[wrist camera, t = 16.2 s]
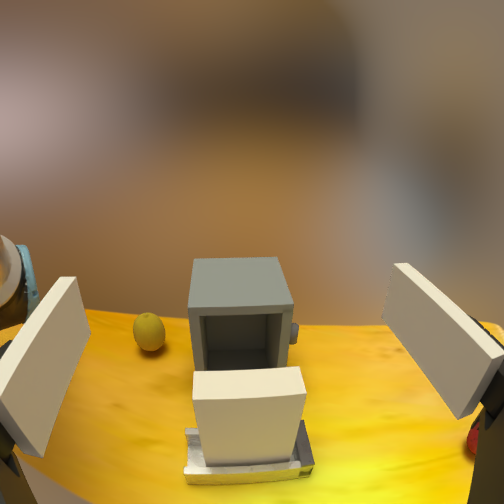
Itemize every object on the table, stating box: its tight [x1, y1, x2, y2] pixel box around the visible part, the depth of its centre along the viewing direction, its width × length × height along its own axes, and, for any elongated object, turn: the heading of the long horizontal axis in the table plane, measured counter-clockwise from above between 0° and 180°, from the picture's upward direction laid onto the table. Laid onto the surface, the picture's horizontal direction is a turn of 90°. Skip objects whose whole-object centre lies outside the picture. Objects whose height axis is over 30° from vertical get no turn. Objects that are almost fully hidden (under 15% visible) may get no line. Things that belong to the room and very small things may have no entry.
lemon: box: [133, 313, 165, 351], centre depth 52 cm, size 6×6×8 cm
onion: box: [467, 422, 479, 455], centre depth 29 cm, size 6×6×8 cm
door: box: [192, 366, 307, 467], centre depth 31 cm, size 10×4×16 cm, turn 95°
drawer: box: [184, 420, 315, 485], centre depth 34 cm, size 15×7×4 cm, turn 95°
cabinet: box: [188, 257, 299, 371], centre depth 45 cm, size 13×12×18 cm
